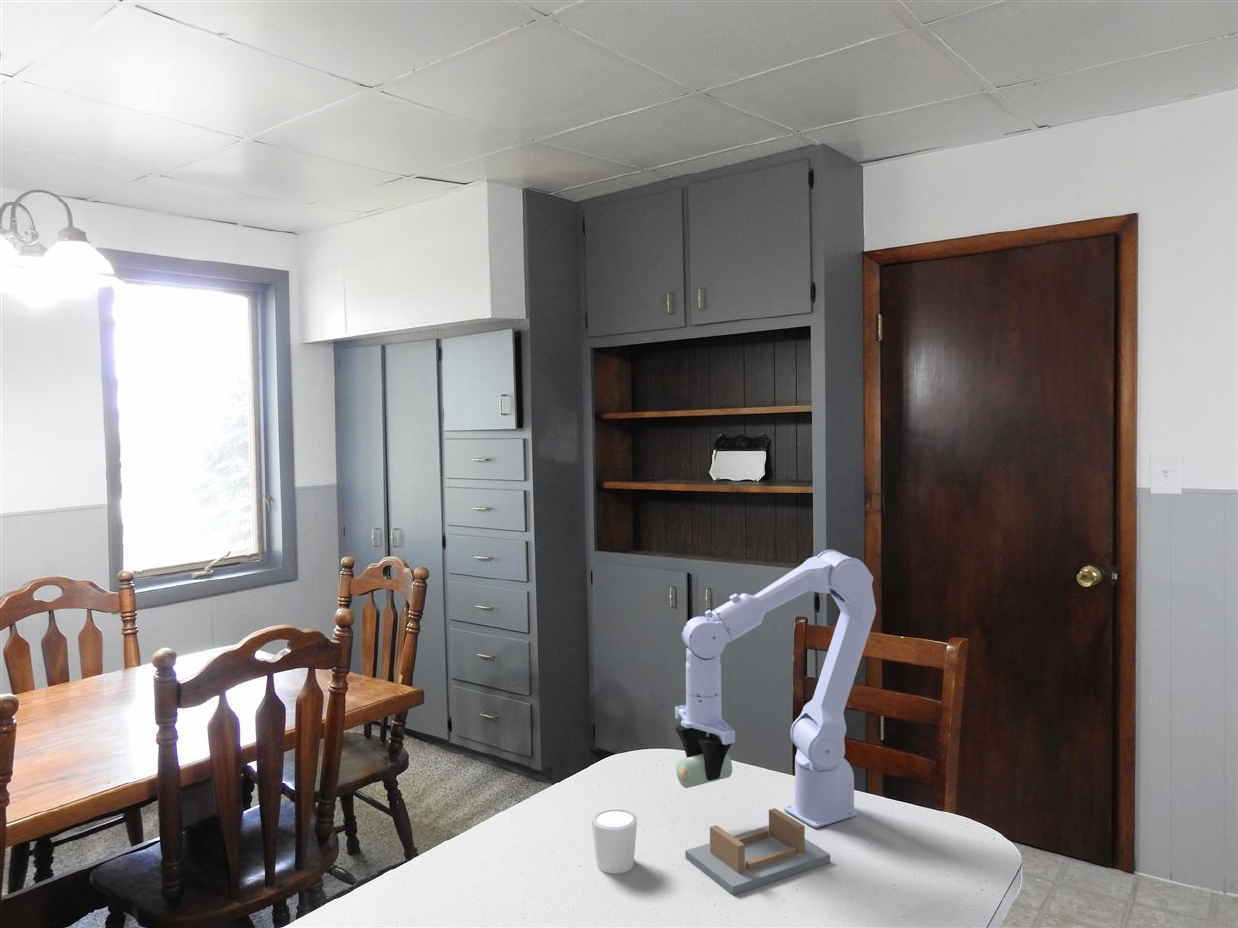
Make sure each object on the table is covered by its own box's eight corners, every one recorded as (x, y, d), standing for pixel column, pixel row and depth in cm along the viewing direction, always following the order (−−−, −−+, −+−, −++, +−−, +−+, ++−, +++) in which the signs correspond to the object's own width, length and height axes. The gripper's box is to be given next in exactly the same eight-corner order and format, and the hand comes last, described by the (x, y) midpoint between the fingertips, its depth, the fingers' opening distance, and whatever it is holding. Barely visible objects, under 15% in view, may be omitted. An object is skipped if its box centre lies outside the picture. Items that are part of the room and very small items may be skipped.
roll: (717, 771, 149) (716, 745, 149) (733, 781, 145) (732, 754, 145) (675, 782, 145) (675, 755, 145) (690, 792, 141) (690, 764, 141)
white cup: (633, 877, 129) (632, 830, 129) (587, 873, 130) (586, 826, 130) (641, 854, 136) (641, 809, 135) (597, 850, 137) (597, 806, 137)
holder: (778, 829, 143) (778, 798, 143) (830, 861, 133) (830, 828, 132) (685, 857, 135) (685, 824, 134) (732, 894, 124) (732, 858, 124)
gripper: (659, 684, 149) (660, 763, 150) (708, 708, 136) (709, 794, 137) (694, 677, 152) (695, 754, 153) (745, 700, 140) (746, 784, 140)
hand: (704, 773), depth 145 cm, fingers closed on roll, 4 cm apart
